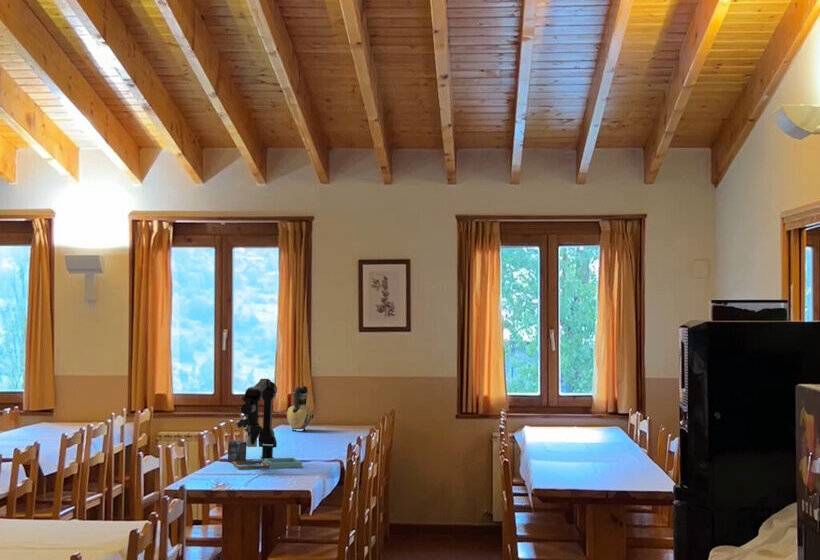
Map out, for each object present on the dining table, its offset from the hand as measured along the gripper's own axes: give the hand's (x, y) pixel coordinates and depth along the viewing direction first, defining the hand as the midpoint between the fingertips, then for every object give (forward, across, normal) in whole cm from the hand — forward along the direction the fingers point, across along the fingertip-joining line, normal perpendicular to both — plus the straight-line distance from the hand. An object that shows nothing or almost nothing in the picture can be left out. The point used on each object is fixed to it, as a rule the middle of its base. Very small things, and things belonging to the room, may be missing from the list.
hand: (251, 443), depth 441 cm
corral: (+11, 0, 0) cm, 11 cm away
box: (+12, -16, -4) cm, 20 cm away
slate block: (+1, 0, 0) cm, 1 cm away
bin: (+11, 0, +16) cm, 20 cm away
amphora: (+12, -136, +62) cm, 150 cm away
